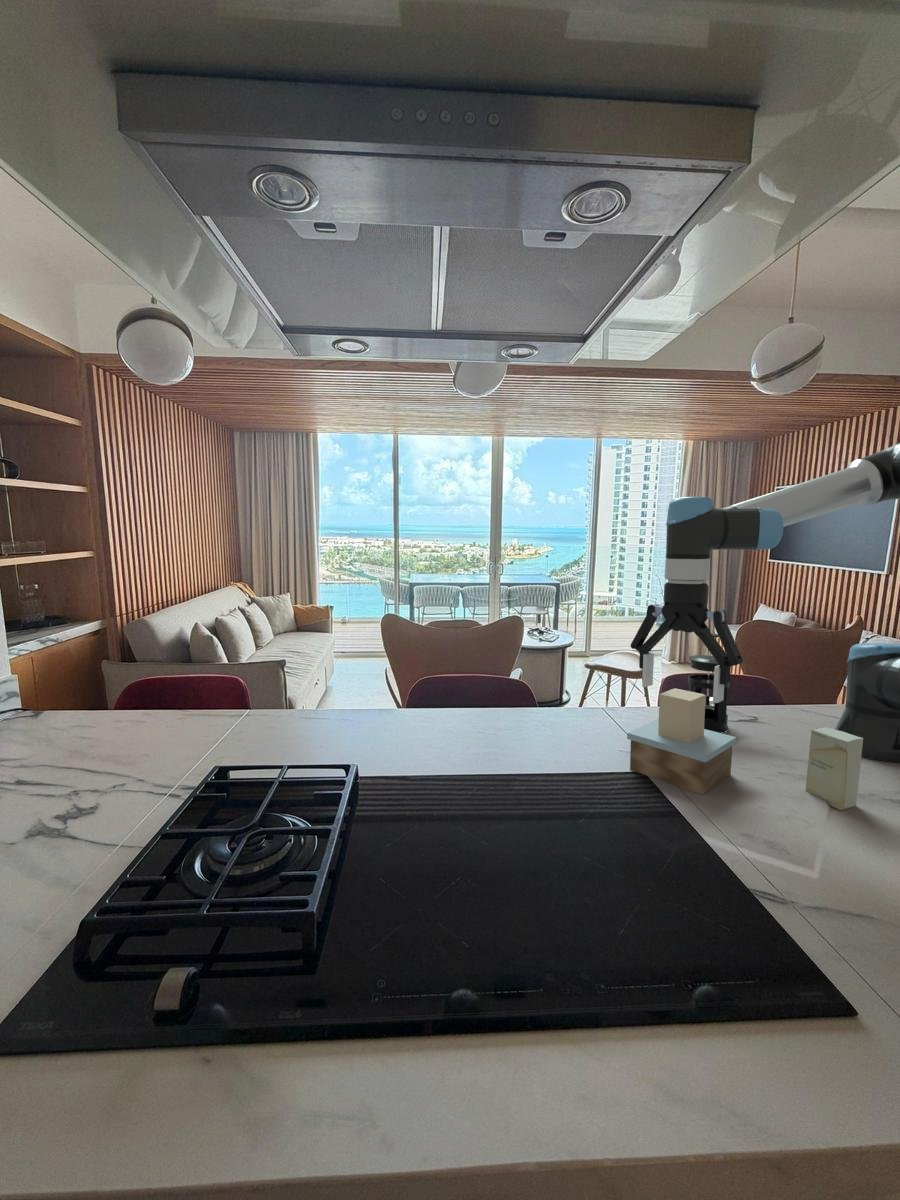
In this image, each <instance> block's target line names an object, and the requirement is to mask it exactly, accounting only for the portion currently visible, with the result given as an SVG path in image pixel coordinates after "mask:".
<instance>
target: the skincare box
mask: <svg viewBox="0 0 900 1200" xmlns="http://www.w3.org/2000/svg"><path fill="white" fill-rule="evenodd" d="M809 741H810V742H809V752H808V762H807V772H806V782H805V792H807V793H809V794H812V795H814V796H816V797H818V798H820V799H823V800H825V801H826V805H827V804H828V806H830V807H832V808H834V809H836V808H837V810H839V811H842V810H846V809H850V808H853V807H856V806H857V800H858V792H859V791H858V790H859V782H860V781H859V779H860V771H861V762H862V756H861V754H862V745H863V738H861V737H858V736H855V735H852V734H849V733H846V732H843V731H839V730H836V729H835V728H832V727H830V726H827V725H826V726H822V727H817V728H811V731H810V740H809Z"/></svg>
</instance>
